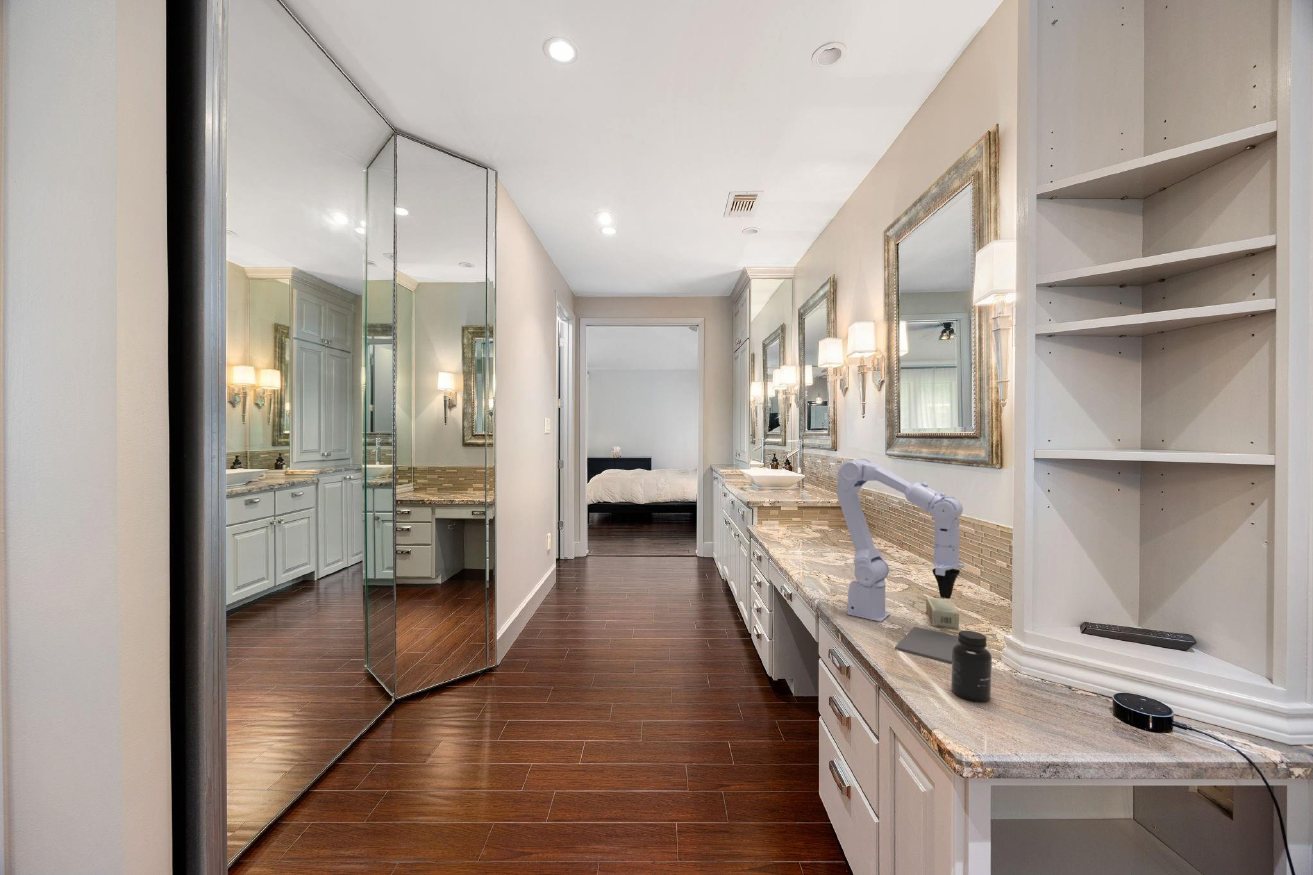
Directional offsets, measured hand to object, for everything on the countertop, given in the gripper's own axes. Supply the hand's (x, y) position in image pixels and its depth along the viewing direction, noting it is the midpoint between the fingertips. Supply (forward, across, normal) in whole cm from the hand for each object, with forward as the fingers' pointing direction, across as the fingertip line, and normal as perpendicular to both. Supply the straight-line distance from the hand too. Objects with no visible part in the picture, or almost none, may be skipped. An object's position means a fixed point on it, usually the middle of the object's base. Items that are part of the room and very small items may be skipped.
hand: (945, 597), depth 139 cm
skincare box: (+7, +4, +1) cm, 8 cm away
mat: (+9, -10, 0) cm, 14 cm away
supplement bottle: (+10, -32, -11) cm, 35 cm away
